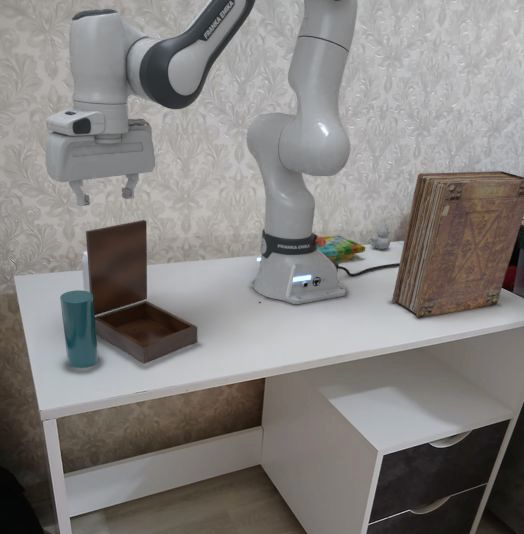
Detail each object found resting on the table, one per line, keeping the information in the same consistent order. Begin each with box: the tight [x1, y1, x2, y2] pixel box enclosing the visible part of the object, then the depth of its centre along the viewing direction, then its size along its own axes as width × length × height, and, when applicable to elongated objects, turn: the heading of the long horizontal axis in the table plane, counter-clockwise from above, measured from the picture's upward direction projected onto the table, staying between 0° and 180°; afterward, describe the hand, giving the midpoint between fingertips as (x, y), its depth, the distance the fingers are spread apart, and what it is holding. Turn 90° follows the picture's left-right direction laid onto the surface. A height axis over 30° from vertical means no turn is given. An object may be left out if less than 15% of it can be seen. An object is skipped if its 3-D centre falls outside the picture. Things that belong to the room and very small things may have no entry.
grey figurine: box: [370, 223, 391, 250], centre depth 166 cm, size 5×7×8 cm
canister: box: [59, 289, 99, 369], centre depth 94 cm, size 5×5×13 cm
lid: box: [85, 219, 148, 316], centre depth 106 cm, size 16×13×5 cm
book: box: [391, 170, 524, 319], centre depth 126 cm, size 25×9×30 cm, turn 116°
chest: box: [95, 300, 198, 364], centre depth 106 cm, size 16×13×4 cm
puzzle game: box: [317, 234, 366, 263], centre depth 156 cm, size 12×5×20 cm
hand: (106, 201), depth 100 cm, fingers open, 8 cm apart
